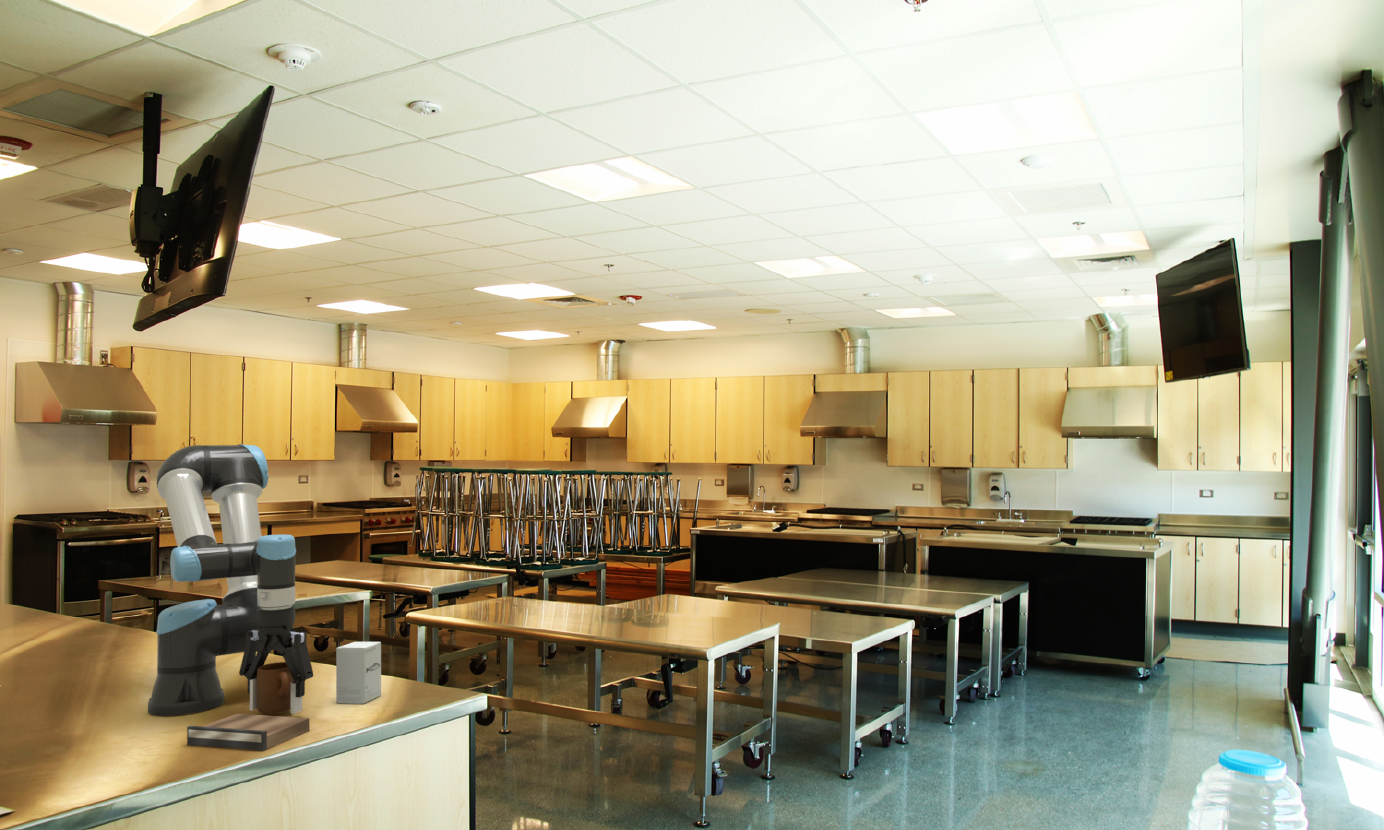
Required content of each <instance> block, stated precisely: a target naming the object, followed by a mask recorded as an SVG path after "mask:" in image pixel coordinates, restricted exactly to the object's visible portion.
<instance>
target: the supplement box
mask: <svg viewBox="0 0 1384 830" xmlns="http://www.w3.org/2000/svg"><path fill="white" fill-rule="evenodd" d="M335 649H336V651H335V652H336V655H335V656H336V658H335V659H336V660H335V661H336V665H335V666H336V668H335V669H336V671H335V673H336V674H335V675H336V676H335V677H336V679H335V681H336V683H335V684H336V688H335V689H336V691H335V692H336V693H335V694H336V695H335V696H336V698H335V699H336V704H349V705H350V704H353V705H354V704H355V705H357V704H359V705H365V704H367V703H368V702H370V701H373V700H374V699H376V698H378V697H381V696H382V642H381V641H353V642H352V641H351V642H350V643H348V644H345V645H341V646H339V647H336V648H335Z"/></svg>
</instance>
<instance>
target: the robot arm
mask: <svg viewBox="0 0 1384 830" xmlns="http://www.w3.org/2000/svg"><path fill="white" fill-rule="evenodd" d="M268 471H269V466H268V462H267V459H266V456H265V453H264V451H263V450H262V449H261V448H260V447H259V446H257V445H254V444H253V445H252V444H243V443H241V444H240V443H239V444H225V445H224V444H223V445H221V444H217V445H216V444H215V445H214V444H213V445H211V444H210V445H209V444H207V445H205V444H204V445H203V444H201V445H200V444H195V445H188V446H185V447H183V448H180V449H178V450H176V451H175V452H174V453H172V454H170V455H169V456H168V457H167V458H166V459H165V460H164V461H163V462H162V464H161V466H160V467H159V469H158V471H157V474H156V483H155V484H156V488H157V491H158V494H159V495H160V497H161V498H162V499H163V500H165V503H166V508H167V510H168V514H169V518H170V519H169V520H170V522H171V526H172V531H173V534H174V539H175V542H176V546H177V547H174V548H173V549H172V550H171V553H170V560H169V561H170V562H169V564H170V574H171V578H172V580H173V581H175V582H181V583H182V582H192V583H194V582H199V581H209V580H218V579H226V581H227V589H228V590H227V593H225V595H224V596H223V597H222V600H221V601H222V604H217V602H216V600H215V599H211V598H205V599H201V600H200V599H199V600H198V599H197V600H192V601H186V602H182V603H179V604H176V605H172V606H170V607H168V608H165V609H164V610H161V612H160V613H159V614H158V616H157V625H156V626H157V627H156V632H155V633H156V635H157V640H156V641H157V644H156V645H157V650H156V651H157V652H156V653H157V655H156V656H157V658H156V660H157V662H156V664H157V665H156V671H157V672H156V678H155V682H154V685H153V687H152V693H151V695H150V696H151V697H150V698H149V699H148V701H147V713H148V714H149V715H153V716H158V717H159V716H161V717H166V716H170V717H171V716H181V715H189V714H194V713H201V712H203V711H208V710H211V709H215V708H217V707H219V706H222V705H223V704H224V703H225V691H224V688H222V685H221V681H220V678H219V675H218V672H217V667H216V666H217V665H216V664H217V663H216V660H217V659H216V658H217V657H219V656H226V655H233V654H240V653H241V654H242V653H243V655H242V659H241V664H240V668H239V672H238V673H239V676H240V677H245V678H246V680H247V693H248V694H249V711H255V710H257V669H258V667H260V666H263V665H265V662H266V661H267V658H268V656H269V655H270V653H271V652H272V651H275V652H279V655H281V656H282V659H283V660H284V662H286V664H287V666H288V669H289V671H290V673H291V675H292V678H293V680H294V681H293V682H292V683H291V709H290V714H291V715H294V714H297V713H299V712H302V711H303V697H304V696H305V694H306V692H305V690H306V680H308V679H312V678H313V677H314V671H313V667H312V662H311V659H310V653H309V650H308V645H307V632H306V631H302V632H296V631H295V630H294V624H295V623H296V607H295V606H294V605H295V603H296V554H297V548H296V540H295V537H294V536H293V535H292V534H284V533H283V534H269V535H262V529H261V522H260V514H259V506H258V499H259V497H261V496H262V494H263V490H264V489H265V488H266V487H267V486H268V484H269V483H268V482H269V473H268ZM202 492H210V494H211V495H210V496H211V500H213V501H214V502H215V503H216V504H218V505H219V514H220V523H221V524H220V525H221V534H222V540H223V541H222V542H223V543H219V544H218V543H217V540H216V537H215V534H214V533H215V532H214V529H213V526H212V523H211V520H210V517H209V513H208V510H207V507H206V503H205V500H204V497H203V494H202Z"/></svg>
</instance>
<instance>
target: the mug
mask: <svg viewBox="0 0 1384 830" xmlns="http://www.w3.org/2000/svg"><path fill="white" fill-rule="evenodd" d="M293 681H294V680H293V678H292V675H291V673H290V671H289V669H288V666H287V664H286V662H285V661H283V662H282V661H279V662H271V663H270V662H269V663H266V664H265V663H264V665H263V666H260V667H258V669H257V709H256V710H257V712H258V713H261V714H262V715H265V714H266V715H267V714H268V715H269V714H270V715H271V714H281V713H285V712H287V711H291V683H292V682H293Z"/></svg>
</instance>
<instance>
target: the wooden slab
mask: <svg viewBox="0 0 1384 830" xmlns="http://www.w3.org/2000/svg"><path fill="white" fill-rule="evenodd" d="M310 727H311V726H310V718H309V717H296V716H295V717H293V716H281V715H279V716H278V715H267V714H266V715H265V714H250V713H249V714H247V713H235V714H233V715H229V716H227V717H224V718H221V719H218V720H216V721H213V722H210V723H208V724H205V725H202V726H200V725H189V726H187V727H186V745H187V746H197V747H208V748H209V747H210V748H219V749H221V748H223V749H233V750H234V749H235V750H246V751H261V752H264V751H267V750H269V749H271V748H273V747H276V746H278V745H280V744H282V743H283V744H284V743H285V742H288V741H289V740H292V739H294V738H297V737H298V736H301V735H303V734H306V733H307V732H310V731H311V729H310Z"/></svg>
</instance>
